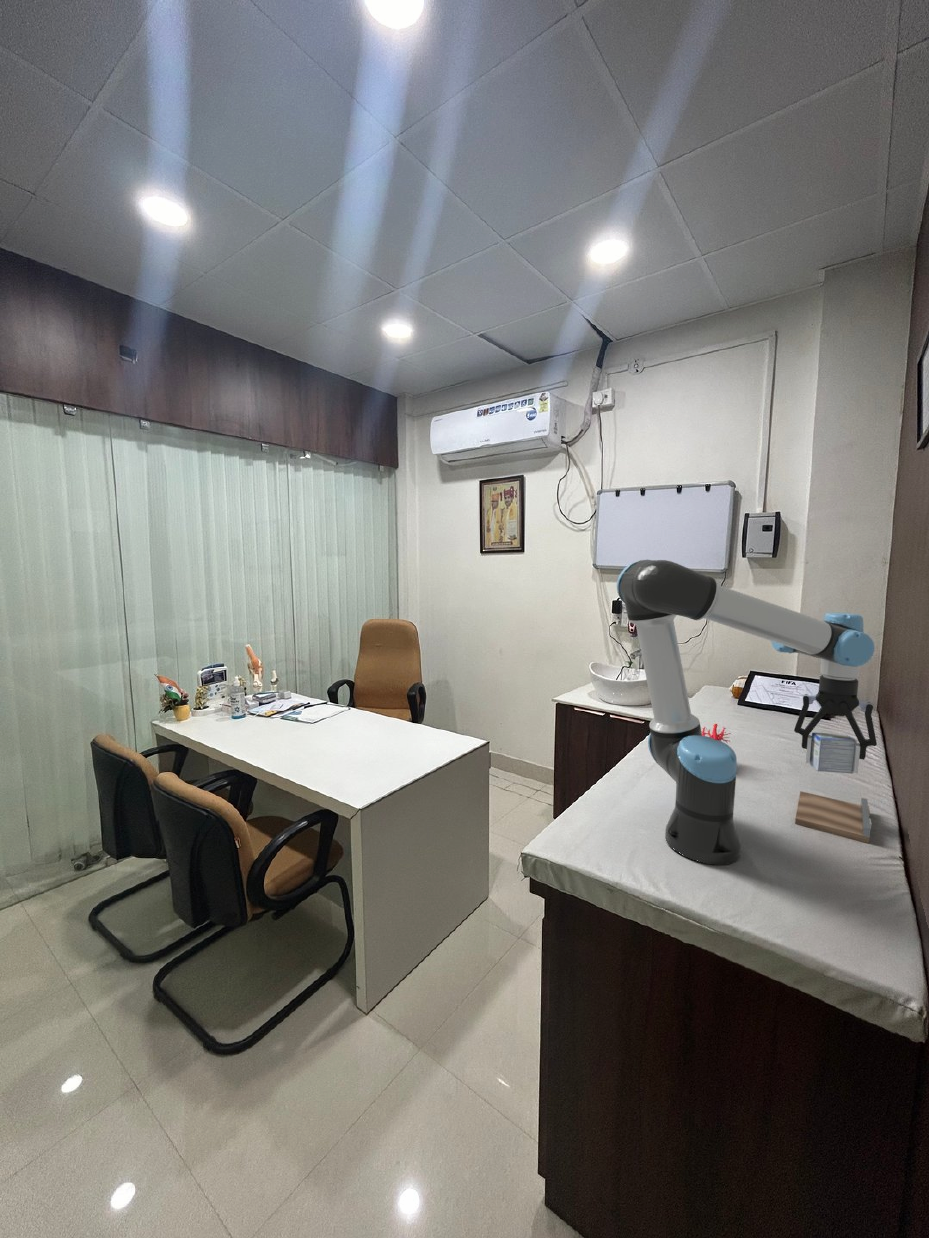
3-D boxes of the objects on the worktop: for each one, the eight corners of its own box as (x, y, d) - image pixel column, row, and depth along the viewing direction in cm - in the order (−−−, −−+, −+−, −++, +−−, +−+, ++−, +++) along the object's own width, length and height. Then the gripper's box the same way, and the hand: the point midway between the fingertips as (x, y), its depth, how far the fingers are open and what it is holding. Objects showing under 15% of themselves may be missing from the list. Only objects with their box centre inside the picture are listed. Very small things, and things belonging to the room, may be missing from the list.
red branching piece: (688, 767, 154) (690, 730, 152) (696, 755, 163) (698, 720, 162) (724, 775, 148) (726, 736, 146) (730, 763, 157) (732, 726, 156)
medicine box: (844, 767, 124) (847, 733, 123) (854, 774, 120) (857, 740, 119) (808, 764, 126) (811, 731, 125) (817, 771, 121) (820, 737, 120)
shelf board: (870, 843, 112) (872, 829, 112) (794, 823, 120) (796, 810, 120) (867, 812, 126) (868, 799, 126) (800, 796, 135) (801, 784, 134)
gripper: (896, 680, 117) (887, 772, 119) (787, 668, 129) (781, 751, 132) (899, 686, 111) (889, 782, 113) (784, 673, 124) (778, 760, 126)
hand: (831, 765), depth 123 cm, fingers closed on medicine box, 9 cm apart
